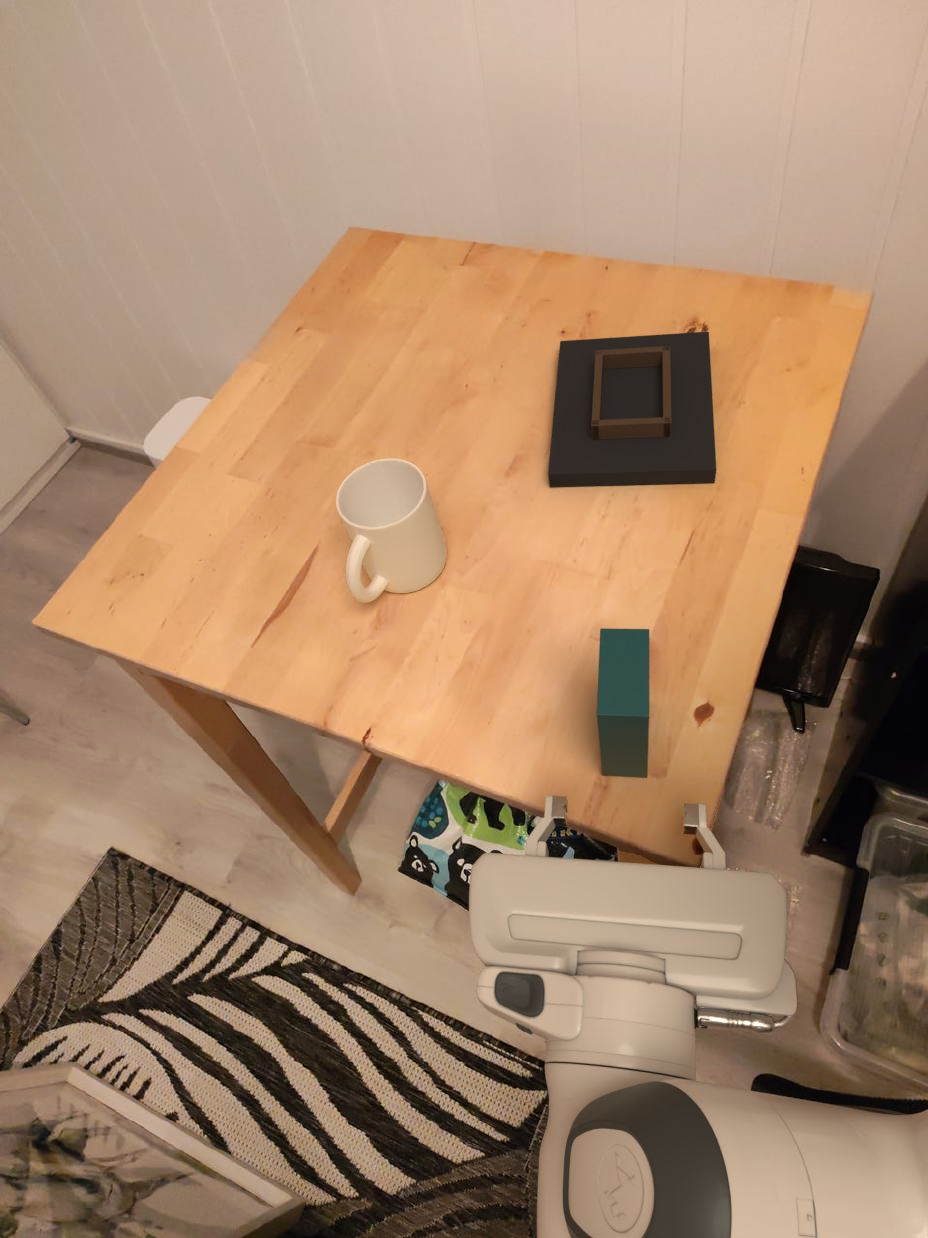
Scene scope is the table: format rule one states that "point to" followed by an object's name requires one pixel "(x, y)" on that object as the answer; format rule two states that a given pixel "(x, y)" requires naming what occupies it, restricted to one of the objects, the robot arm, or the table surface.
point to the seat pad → (633, 412)
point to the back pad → (623, 702)
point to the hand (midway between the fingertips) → (624, 801)
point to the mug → (390, 529)
